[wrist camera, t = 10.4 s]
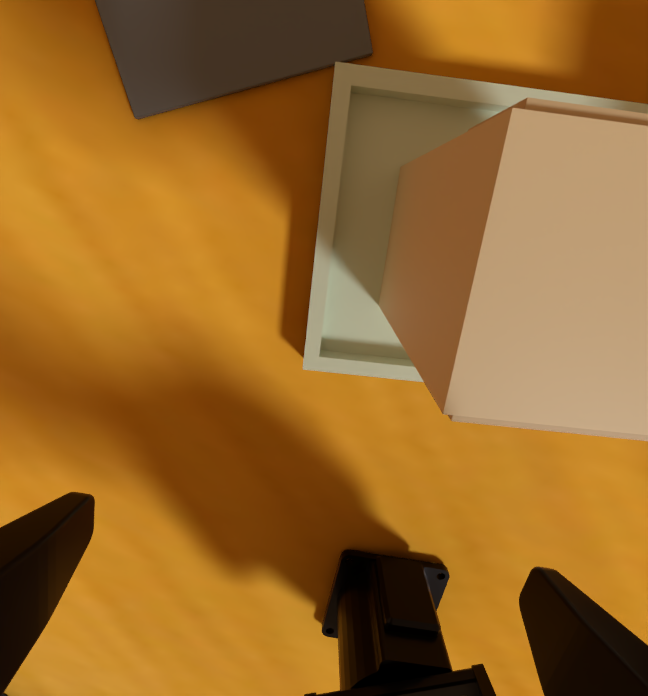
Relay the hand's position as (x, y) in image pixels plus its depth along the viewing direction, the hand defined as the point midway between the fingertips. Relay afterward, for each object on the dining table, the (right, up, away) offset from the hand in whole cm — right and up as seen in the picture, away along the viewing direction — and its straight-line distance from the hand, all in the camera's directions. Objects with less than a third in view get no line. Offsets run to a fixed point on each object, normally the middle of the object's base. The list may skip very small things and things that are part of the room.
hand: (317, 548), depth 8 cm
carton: (+6, +9, +10) cm, 15 cm away
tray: (+6, +9, +11) cm, 15 cm away
